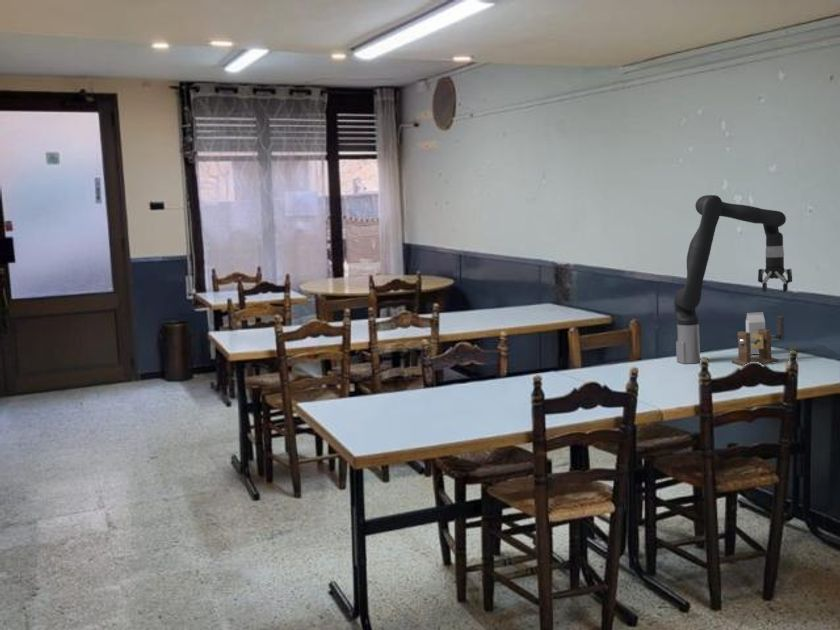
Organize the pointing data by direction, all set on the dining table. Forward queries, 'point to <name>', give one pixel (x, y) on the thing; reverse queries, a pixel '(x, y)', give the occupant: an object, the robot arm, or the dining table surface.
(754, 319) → the milk carton
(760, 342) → the spacer
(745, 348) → the stand
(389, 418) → the dining table surface
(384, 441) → the dining table surface
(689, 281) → the robot arm
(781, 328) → the grey l-shaped piece
